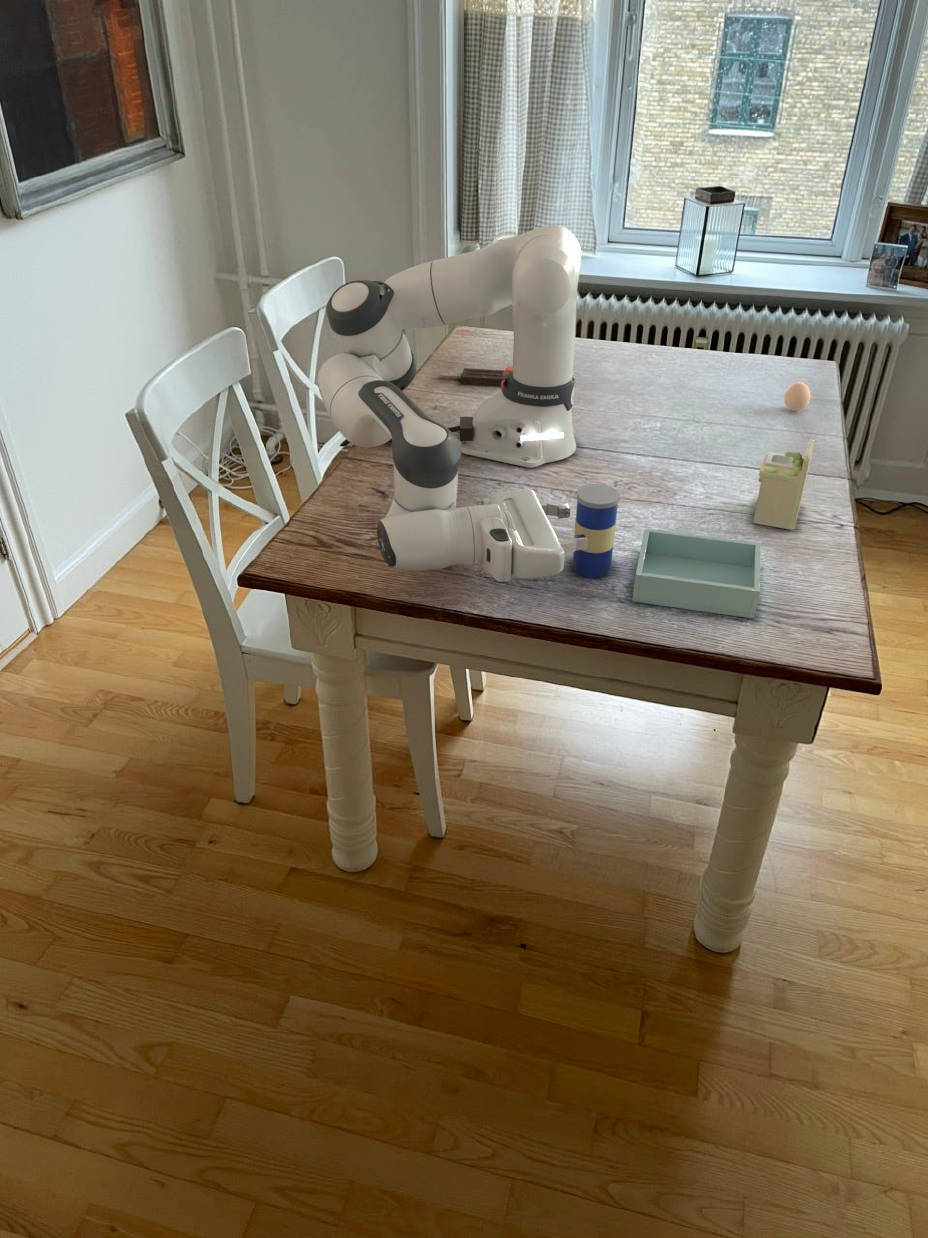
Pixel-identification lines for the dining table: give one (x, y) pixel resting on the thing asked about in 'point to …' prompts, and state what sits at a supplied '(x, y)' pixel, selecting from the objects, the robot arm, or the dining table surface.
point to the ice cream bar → (478, 376)
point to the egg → (797, 396)
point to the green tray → (698, 573)
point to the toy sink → (782, 487)
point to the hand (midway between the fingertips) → (577, 525)
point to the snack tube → (595, 529)
